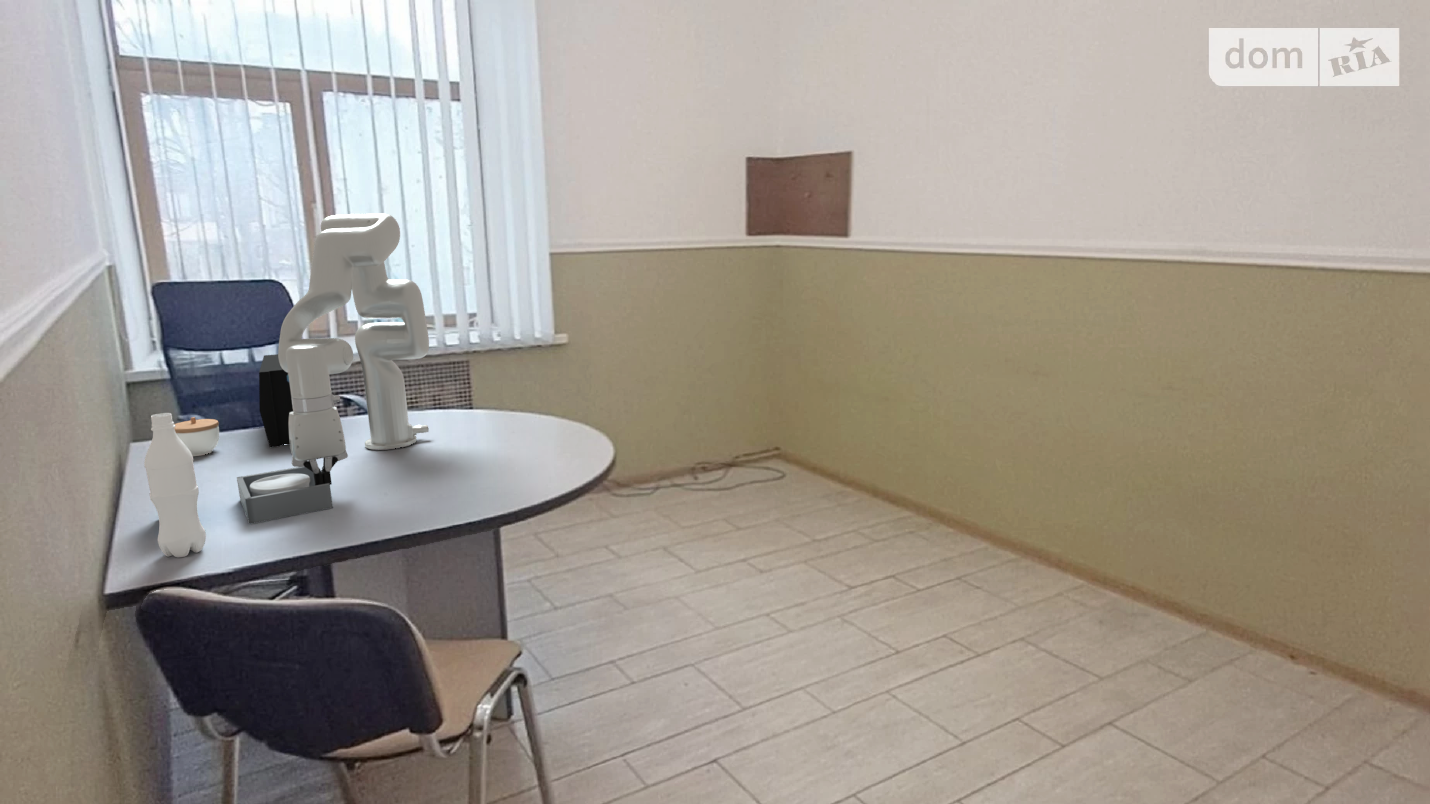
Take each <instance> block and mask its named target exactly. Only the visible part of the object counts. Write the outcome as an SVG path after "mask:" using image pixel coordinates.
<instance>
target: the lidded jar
mask: <svg viewBox="0 0 1430 804" xmlns="http://www.w3.org/2000/svg"><path fill="white" fill-rule="evenodd" d="M174 425H175V426H176V427H175V428H174V429H175V432H176V434H177V436H178V437H179V438H180V440H181V441H182V442H183V443H184V444H185V445H186V446H187V448H188V449H189V450H190V452H191V454H192V456H193V457H201V456H205V454H206V455H208V453H209V454H212V453H213V451H214V449H215V448H216V447H217V446H218V443H219V440H220V427H219V425H220V422H219V421H218V420H217V419H214V418H201V419H198V418H197V419H196V417H195V416H192V417H190V420H184V421H182V422H177V423H176V422H175V423H174Z"/></svg>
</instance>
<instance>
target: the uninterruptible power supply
mask: <svg viewBox="0 0 1430 804" xmlns="http://www.w3.org/2000/svg"><path fill="white" fill-rule="evenodd" d="M258 381H259V383H258V385H259V386H258V390H259V393H258V394H259V395H258V398H259V399H258V401H259V402H258V403H259V408H258V409H259V414H260V418H261V421H262V424H263V428H264V431H265V435H266V439H267V441H268V446H269V448H270V447H271V448H277V446H279V447H280V445H282V446H285V445H284V444H290V440H289V413H290V412H293V405H292V397H291V390H290V382H289V375H288V373H287V372H286V371H284V370H283V369H282V367H281V365H280V362H279V357H278V354H277V353H275V354H266V355H265V354H264V355H263V357H262V361H261V364H260V367H259V371H258Z"/></svg>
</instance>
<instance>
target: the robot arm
mask: <svg viewBox="0 0 1430 804" xmlns="http://www.w3.org/2000/svg"><path fill="white" fill-rule="evenodd" d="M400 229H401V228H400V224H399V222H398V221H397V219H396V218H395V217H393V216H392V215H390V214H388V213H366V214H365V213H364V214H363V213H361V214H360V213H355V214H354V213H350V214H347V213H346V214H335V215H334V214H333V215H330V216H327V217H324V218H323V219H322V220H321V222H320V232H319V233H318V234H317V235H316V237H315V240H314V242H313V251H312V252H313V253H312V258H311V259H312V260H311V267H310V275H309V285H308V291H307V293H306V294H304V295H303V296H302V297H301V298H300V299H299V300H298V301H297V302H296V303H295V304H294V305H293V307H292V308H291V309H290V310H289V311H288V313H287V314H286V316H285V318H284V319H283V322H282V324H281V328H280V332H279V334H280V335H279V340H278V352H277V353H278V357H279V362H280V365H281V367H282V369H283V370H284V371H286V372H287V373H288V375H289V382H290V390H291V397H292V405H293V412H290V413H289V440H290V445H289V449H290V454H291V456H292V457H291V466H292V467H293V468H295V467H306V468H307V469H309V470H311V471H312V472H313V473H314V481H315V486H316V485H322V484H327V483H329V484H330V486H331V485H332V477H331V476H332V475H331V471H332V470H333V468H334V466H335V465H336V464H337V463H338V462H340V461H342V460H345V459H348V457H349V455H348V452H347V450H346V449H347V446H346V445H347V444H346V439H345V434H344V429H343V424H342V421H341V417H340V413H339V410H338V408H337V406H335V404H336V403H339V402H341V397H340V395H335V394H333V393H332V386H331V377H330V375H334V374H340V373H344V372H345V371H347V370H348V369H349V368H350V367H351V365H352V364H353V360H354V351H353V348H352V346H351V344H350V343H349V342H348V341H346V340H344V339H341V338H337V337H336V338H335V337H333V338H331V337H330V338H329V337H328V338H327V337H324V338H319V337H318V338H303V334H304V332H305V330H306V329H307V328H308V326H309V325H311V324H312V323H313V322H314V321H315V320H317V319H318V318H320V317H323V316H324V315H326V314H329V313H331V312H333V311H335V310H337V309H339V308H342V307H343V306H345V305H346V304H347V303H349V302H350V300H351V298H353V303H354V306H355V310H356V312H357V313H358V315H359V316H360V317H362V318H364V319H371V320H372V319H373V320H376V319H401V320H402V321H388V322H387V321H385V322H384V321H383V322H369V323H365V324H363V325H361V326H360V327H359V328H358V329H357V330H356V331H355V335H354V342H355V348H356V351H357V354H358V358H359V360H360V364H361V370H362V376H363V382H364V391H365V400H366V410H367V417H368V425H369V435H370V438H369V439H367V440H366V441H365V442H364V446H365V448H366V449H369V450H374V451H375V450H376V451H384V450H386V451H387V450H395V448H396V449H401V448H400V447H402V448H404V447H409V446H411V444H412V445H414V444H415V443H417V439H418V438H417V435H418V434H424V433H425V434H426V433H429V431H430V430H429V425H427V424H424V425H421V424H417V425H412V424H410V422H409V413H408V404H407V395H406V394H407V393H406V386H405V384H406V383H405V378H404V375H403V374H404V373H403V372H402V370H401V369H400V367H399V366H398V365H397V364H396V362H394V361H399V360H419V359H423V358H424V357H426V356H427V354H428V353H429V349H430V339H429V331H428V325H427V319H426V312H425V307H424V306H425V305H424V300H423V296H422V291H421V289H420V287H419V285H417V283H416V282H415V281H413V280H410V279H390V278H389V277H388V274H387V270H386V265H385V264H386V263H385V262H386V260H387V259H388V258H389V257H390V255H392V253H394V251H395V250H396V249H397V247H398V245H399V244H400V243H399V242H400V238H401V230H400ZM413 443H414V444H413ZM318 459H323V460H322V467H321V468H320V467H319V464H318V461H317V460H318Z"/></svg>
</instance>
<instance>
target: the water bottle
mask: <svg viewBox="0 0 1430 804" xmlns="http://www.w3.org/2000/svg"><path fill="white" fill-rule="evenodd" d="M172 415H173V414H172V413H171V412H163V413H156V414H152V415H151V416H150V419H151V425H150V426H151V427H150V431H152V439H151V442H150V445H149V446H148V448H147V451H146V454H145V457H144V461H143V462H144V463H143V464H144V465H143V466H144V468H145V471H146V476H147V482H148V487H149V500H150V501H151V502H152V504H153V505H154V508H155V509H156V512H157V516H158V521H159V525H158V526H159V529H158V535H157V544H158V547H159V549H160V550H161V552H162V553H163V554H164V555H165V556H166V557H172V556H173V557H175V558H184V557H187V556H188V555H189V552H190V550H191V551H192V552H194V553H195V554H196V553H197V554H198V553H199V552H201V551H202V550H203V549H204V546H205V544H206V539H207V534H206V529H205V528H204V526H203V525H202V523H201V520H200V518H199V513H198V498H199V493H200V492H199V486H198V484H197V478H196V472H195V467H194V465H195V464H194V456H192V454H191V452H190V450H189V449H188V448H187V446H186V445H185V444H184V443H183V442H182V441H181V440H180V438H179V437H178V436H177V434H176V432H175V429H174V428H175V427H176V426H175V425H174V424H175V422H174V421H173V416H172Z"/></svg>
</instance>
